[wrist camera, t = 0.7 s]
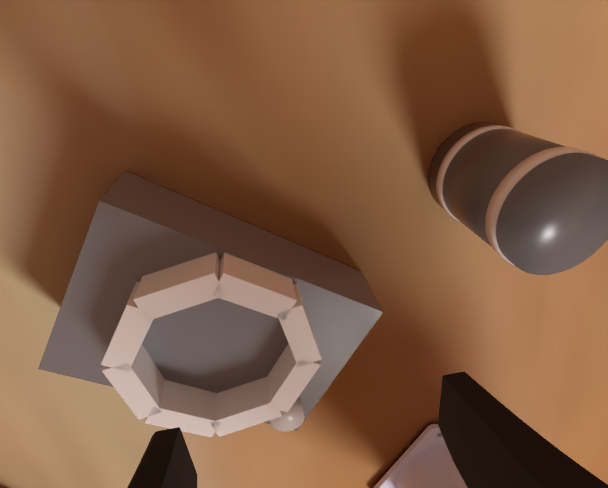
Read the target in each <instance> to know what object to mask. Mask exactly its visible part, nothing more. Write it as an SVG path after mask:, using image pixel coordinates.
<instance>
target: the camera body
mask: <svg viewBox="0 0 608 488" xmlns="http://www.w3.org/2000/svg"><path fill="white" fill-rule="evenodd" d="M382 313H383V311H382V309H381V307H380V305H379V303H378V301H377V300H376V298H375V296H374V294H373V292H372V291H371V289H370V287H369V285H368V283H367V281H366V280H365V278H364V276H363V274H362V272H361V271H359V270H357V269H355V268H352V267H350V266H348V265H345V264H343V263H341V262H338V261H336V260H333V259H331V258H329V257H326V256H324V255H322V254H319V253H317V252H315V251H312V250H310V249H308V248H305V247H303V246H301V245H298V244H296V243H294V242H291V241H289V240H287V239H284V238H282V237H280V236H277V235H275V234H273V233H270V232H268V231H265V230H263V229H261V228H258V227H256V226H254V225H251V224H249V223H247V222H244V221H242V220H240V219H237V218H235V217H233V216H230V215H228V214H226V213H223V212H221V211H219V210H216V209H214V208H212V207H209V206H207V205H205V204H202V203H200V202H198V201H195V200H193V199H190V198H188V197H186V196H183V195H181V194H179V193H176V192H174V191H172V190H169V189H167V188H165V187H162V186H160V185H158V184H155V183H153V182H151V181H148V180H146V179H144V178H141V177H139V176H137V175H134V174H132V173H130V172H127V171H124V172H123V173H122V174H121V176H120V177H119V178H118V179H117V180H116V181H115V183H114V184H113V185H112V186H111V187H110V188H109V190H108V191H107V192H106V193H105V194H104V196H103V197H102V198H101V199H100V200H99V202H98V205H97V208H96V211H95V213H94V216H93V219H92V222H91V224H90V227H89V230H88V233H87V236H86V238H85V241H84V244H83V247H82V249H81V252H80V255H79V258H78V260H77V263H76V266H75V269H74V271H73V274H72V277H71V280H70V282H69V285H68V288H67V291H66V294H65V296H64V299H63V302H62V305H61V307H60V310H59V313H58V316H57V318H56V321H55V324H54V327H53V329H52V332H51V335H50V338H49V341H48V343H47V346H46V349H45V352H44V354H43V357H42V360H41V363H40V365H39V368H38V369H41V370H45V371H49V372H53V373H58V374H62V375H66V376H70V377H74V378H79V379H83V380H87V381H91V382H95V383H100V384H104V385H108V386H112V387H114V388H115V389H116V391H117V392H118V393H119V394H120V396H121V397H122V398H123V400H124V401H125V402H126V404H127V405H128V406H129V408H130V409H131V410H132V412H133V413H134V414H135V416H136V417H137V418H138V419H139V420H140V419H143V418H146V420H145V423H146V424H151V425H156V426H160V427H165V428H170V429H172V428H177V427H180V429H181V431H184V432H188V433H193V434H198V435H202V436H207V437H212V436H213V435H214V433H215V432H216V433H217V435H218V436H219V437H221V436H224V435H227V434H230V433H233V432H236V431H239V430H242V429H245V428H248V427H251V426H254V425H257V424H260V423H267V424H271V426H272V427H273V428H274V429H276V430H278V431H291V430H296V431H297V430H298V429H299V427H300V426H301V424H302V423H303V422H304V420H305V419H306V418H307V416H308V415H309V413H310V412H311V411H312V409H313V408H314V407H315V405H316V404H317V402H318V401H319V400H320V398H321V397H322V396H323V394H324V393H325V391H326V390H327V389H328V387H329V386H330V385H331V383H332V382H333V381H334V379H335V378H336V376H337V375H338V374H339V372H340V371H341V370H342V368H343V367H344V365H345V364H346V363H347V361H348V360H349V359H350V357H351V356H352V354H353V353H354V352H355V350H356V349H357V348H358V346H359V345H360V343H361V342H362V341H363V339H364V338H365V337H366V335H367V334H368V332H369V331H370V330H371V328H372V327H373V326H374V324H375V323H376V321H377V320H378V319H379V317H380V316H381V315H382Z"/></svg>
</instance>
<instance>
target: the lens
mask: <svg viewBox="0 0 608 488" xmlns="http://www.w3.org/2000/svg"><path fill="white" fill-rule="evenodd" d="M428 181H429V188H430V191H431V194H432V196H433V198H434V199H435V201H436V202H437V203H438V204H439V205H440V206H441V207H443V208H444V210H445V211H446V212H447V213H448V214H450V215H451V216H452V217H453V218H455V219H456V220H458V221H460V222H461V223H463V224H464V225H465V226H466V227H468V228H469V229H470V230H471V231H473V232H474V233H475V234H476V235H478V236H479V237H480V238H481V239H483V240H484V241H485V242H486V243H488V244H489V245H490V246H491V247H492V248H493V249H494V250H495V251H496V252H497V253H498V254H499V255H500V256H502V257H503V258H504V259H505V260H507V261H508V262H509V263H511V264H513V265H515V266H516V267H518V268H519V269H521V270H522V271H525V272H527V273H531V274H536V275H549V274H555V273H558V272H562V271H565V270H567V269H570V268H572V267H574V266H576V265H578V264H580V263H581V262H583V261H584V260H586V259H587V258H589V257H590V256H591V255H592V254H594V253H595V252H596V251H597V250H598V249H599V248H600V247H601V246H602V245H603V244H604V243H605V242H606V241H607V239H608V160H605V159H603V158H600V157H599V156H597V155H595V154H592V153H589V152H586V151H583V150H580V149H577V148H572V147H565V146H562V145H559V144H556V143H553V142H549V141H546V140H543V139H540V138H537V137H534V136H531V135H527V134H524V133H522V132H520V131H518V130H516V129H513V128H510V127H507V126H501V125H496V124H493V123H488V122H479V123H473V124H469V125H467V126H464V127H462V128H460V129H458V130H457V131H455V132H454V133H452V134H451V135H450V136H449V137H448V138H447V139H446V140H445V141H444V142H443V143H442V144H441V146H440V147H439V148H438V150H437V151H436V153H435V155H434V157H433V159H432V162H431V165H430V169H429V176H428Z"/></svg>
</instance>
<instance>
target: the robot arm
mask: <svg viewBox="0 0 608 488" xmlns="http://www.w3.org/2000/svg"><path fill="white" fill-rule="evenodd" d="M128 488H197V473H196V470H195V467H194V465H193V462H192V459H191V457H190V454H189V451H188V448H187V446H186V443H185V440H184V437H183V435H182V432H181V429H180V427H177V428H172V429H167V430H162V431H157V432H155V433H154V435H153V436H152V438H151V440H150V442H149V445H148V447H147V449H146V451H145V453H144V455H143V457H142V459H141V462H140V464H139V466H138V468H137V470H136V472H135V474H134V476H133V478H132V480H131V482H130V484H129V486H128ZM373 488H608V485H607V484H606V483H604V482H603V481H601V480H600V479H599V478H597V477H596V476H594V475H593V474H591V473H590V472H589V471H587V470H586V469H584V468H583V467H582V466H580V465H579V464H578V463H576V462H575V461H574V460H572V459H571V458H569V457H568V456H567V455H565V454H564V453H563V452H561V451H560V450H559V449H557V448H556V447H555V446H554V445H552V444H551V443H550V442H548V441H547V440H546V439H544V438H543V437H542V436H541V435H539V434H538V433H537V432H536V431H534V430H533V429H532V428H531V427H529V426H528V425H527V424H526V423H524V422H523V421H522V420H521V419H519V418H518V417H517V416H516V415H515V414H513V413H512V412H511V411H510V410H509V409H507V408H506V407H505V406H504V405H503V404H501V403H500V402H499V401H498V400H497V399H496V398H494V397H493V396H492V395H491V394H490V393H489V392H487V391H486V390H485V389H484V388H483V387H482V386H480V385H479V384H478V383H477V382H476V381H475V380H473V379H472V378H471V377H470V376H469V375H468V374H466V373H465V372H459V373H454V374H449V375H444V376H443V380H442V390H441V400H440V410H439V420H438V424H431V425H429V426H428V427H427V428H426V429H425V430H424V431H423V432H422V434H421V435H420V436H419V437H418V438H417V439H416V440H415V441H414V442H413V444H412V445H411V446H410V447H409V448H408V449H407V450H406V451H405V453H404V454H403V455H402V456H401V457H400V458H399V459H398V460H397V461H396V463H395V464H394V465H393V466H392V467H391V468H390V469H389V470H388V472H387V473H386V474H385V475H384V476H383V477H382V478H381V479H380V481H379V482H378V483H377V484H376V485H375V486H374V487H373Z"/></svg>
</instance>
